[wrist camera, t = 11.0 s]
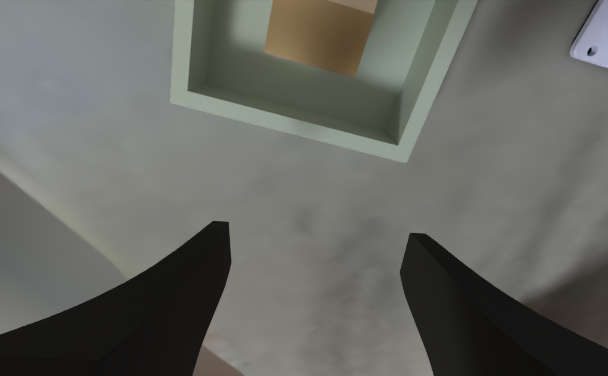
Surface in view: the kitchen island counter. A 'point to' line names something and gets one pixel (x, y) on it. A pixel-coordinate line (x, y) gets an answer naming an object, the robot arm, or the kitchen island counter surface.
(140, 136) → the kitchen island counter surface
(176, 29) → the bin
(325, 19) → the tan long block
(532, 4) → the kitchen island counter surface
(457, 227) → the kitchen island counter surface
